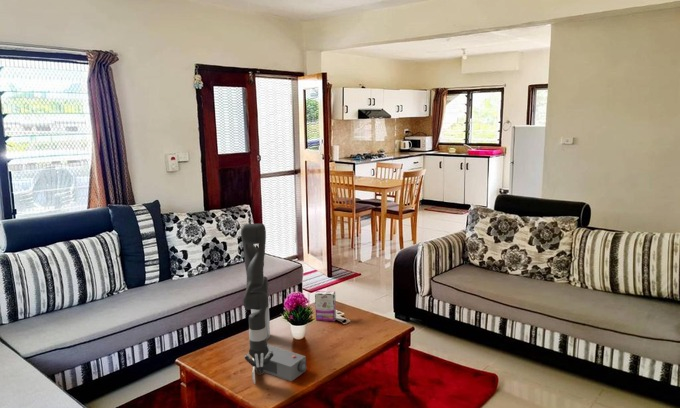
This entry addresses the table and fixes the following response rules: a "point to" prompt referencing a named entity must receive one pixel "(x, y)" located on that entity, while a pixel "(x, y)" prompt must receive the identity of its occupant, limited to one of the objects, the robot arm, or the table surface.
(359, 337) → the table surface
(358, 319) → the table surface
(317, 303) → the candy bar box
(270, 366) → the camera box
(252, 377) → the side door
